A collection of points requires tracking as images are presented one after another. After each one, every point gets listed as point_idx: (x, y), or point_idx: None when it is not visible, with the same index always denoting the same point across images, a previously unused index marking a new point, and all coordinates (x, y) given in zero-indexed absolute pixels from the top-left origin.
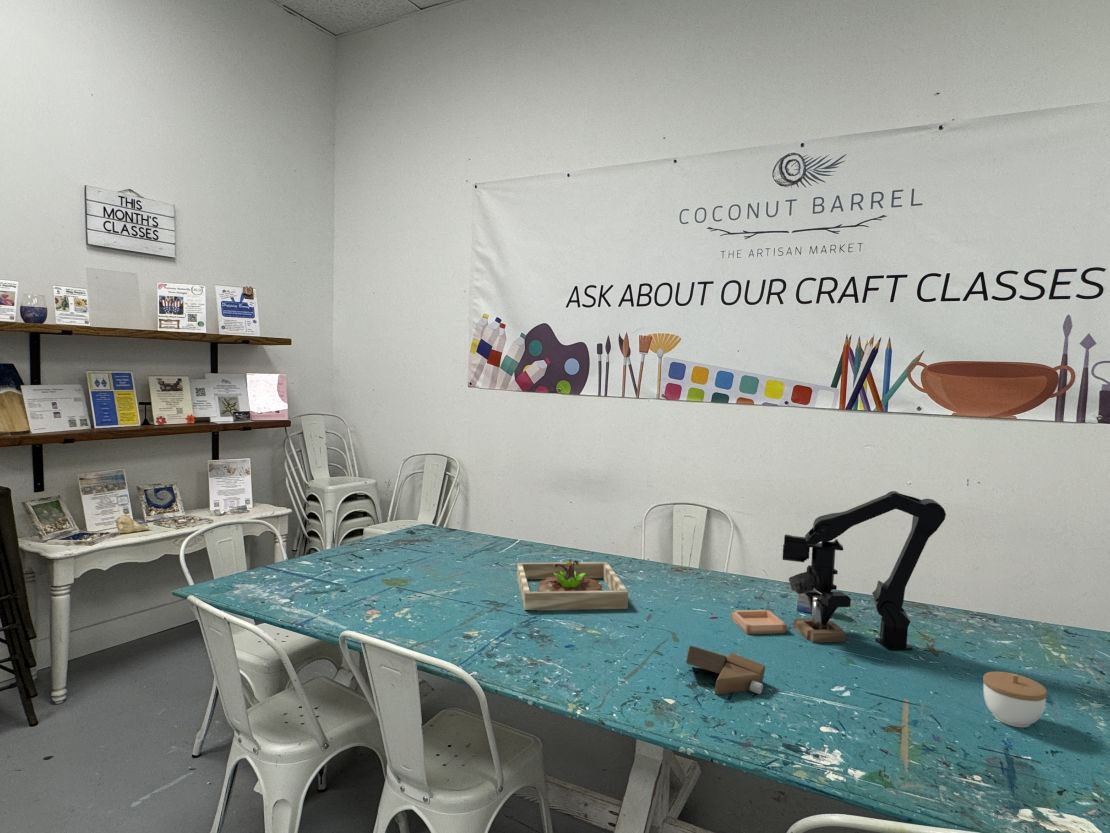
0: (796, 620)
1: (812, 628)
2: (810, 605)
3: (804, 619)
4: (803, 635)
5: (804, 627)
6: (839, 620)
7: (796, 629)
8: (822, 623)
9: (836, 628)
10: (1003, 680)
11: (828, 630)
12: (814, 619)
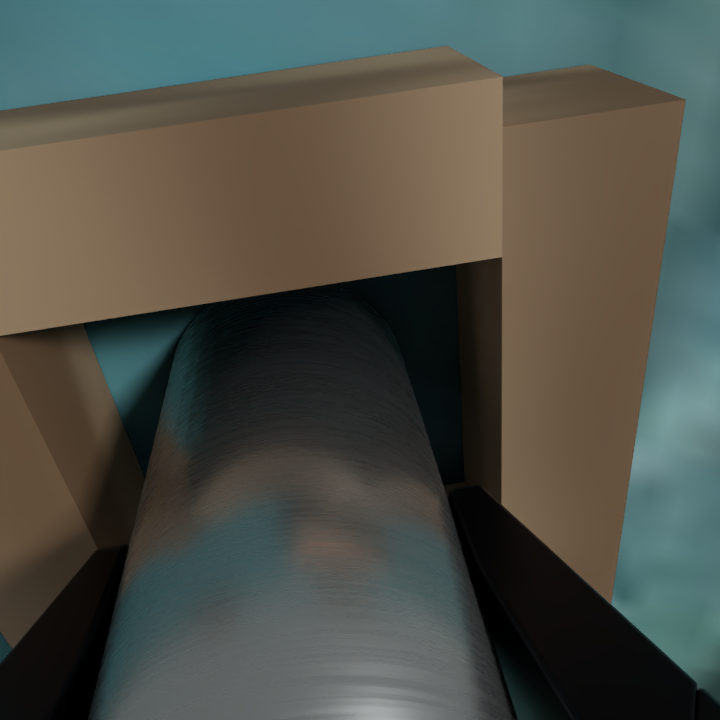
0: (577, 114)
1: (75, 319)
2: (668, 699)
3: (601, 316)
4: (128, 94)
5: (97, 152)
6: (700, 666)
7: (427, 53)
8: (82, 569)
9: None
10: None
11: (52, 552)
12: (197, 489)
